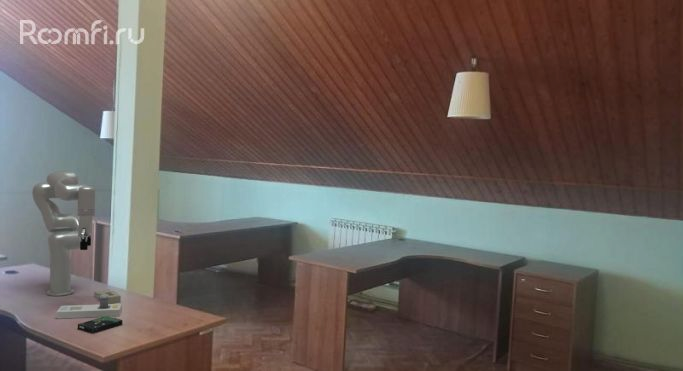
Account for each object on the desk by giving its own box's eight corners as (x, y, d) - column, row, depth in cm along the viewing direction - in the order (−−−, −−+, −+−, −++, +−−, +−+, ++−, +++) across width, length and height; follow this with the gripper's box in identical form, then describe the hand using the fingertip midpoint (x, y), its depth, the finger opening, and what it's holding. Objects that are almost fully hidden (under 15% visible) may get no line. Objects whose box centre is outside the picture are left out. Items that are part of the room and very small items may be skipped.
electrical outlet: (108, 287, 294) (120, 295, 281) (108, 295, 295) (120, 303, 281) (94, 289, 290) (105, 297, 276) (94, 297, 290) (105, 305, 276)
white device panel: (61, 312, 262) (61, 305, 262) (121, 309, 269) (121, 303, 269) (56, 318, 252) (56, 311, 252) (119, 316, 259) (119, 309, 259)
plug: (100, 311, 264) (100, 294, 263) (109, 311, 265) (109, 294, 264) (98, 313, 260) (99, 296, 259) (107, 313, 261) (108, 296, 260)
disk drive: (93, 335, 235) (123, 325, 248) (93, 328, 235) (123, 319, 248) (77, 330, 240) (107, 321, 253) (77, 324, 240) (107, 315, 253)
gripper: (80, 209, 280) (80, 244, 282) (74, 214, 264) (73, 251, 265) (97, 210, 282) (96, 244, 284) (91, 215, 266) (91, 251, 267)
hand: (85, 247), depth 274 cm, fingers open, 9 cm apart
